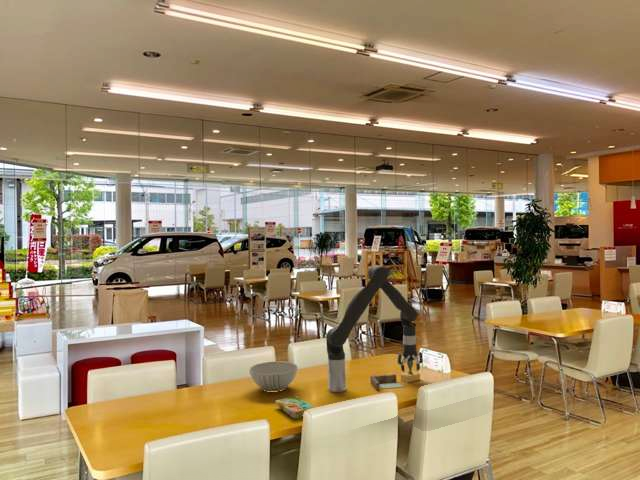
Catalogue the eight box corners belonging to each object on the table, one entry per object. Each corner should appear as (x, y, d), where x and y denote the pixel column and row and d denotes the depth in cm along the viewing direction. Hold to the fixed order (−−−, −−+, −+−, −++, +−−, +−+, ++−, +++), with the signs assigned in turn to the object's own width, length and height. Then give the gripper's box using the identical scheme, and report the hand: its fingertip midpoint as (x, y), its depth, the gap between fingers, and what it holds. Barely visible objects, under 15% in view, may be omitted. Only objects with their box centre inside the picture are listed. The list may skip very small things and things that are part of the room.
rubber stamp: (413, 377, 294) (413, 357, 294) (420, 379, 289) (420, 359, 289) (400, 380, 290) (399, 359, 289) (406, 382, 285) (406, 361, 284)
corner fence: (376, 390, 272) (376, 383, 272) (370, 383, 286) (370, 375, 286) (402, 388, 274) (402, 381, 274) (395, 381, 288) (395, 374, 288)
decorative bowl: (267, 400, 261) (266, 377, 260) (240, 389, 281) (240, 367, 281) (308, 389, 278) (307, 367, 277) (280, 379, 298) (279, 358, 298)
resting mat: (382, 388, 275) (382, 388, 275) (378, 384, 283) (378, 383, 283) (403, 387, 277) (403, 386, 277) (399, 382, 284) (399, 382, 284)
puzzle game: (292, 410, 232) (275, 398, 250) (292, 420, 233) (275, 408, 250) (314, 406, 238) (296, 394, 256) (315, 416, 238) (296, 403, 256)
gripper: (399, 345, 284) (400, 373, 285) (423, 343, 286) (424, 371, 287) (395, 342, 292) (396, 370, 292) (419, 340, 294) (420, 368, 294)
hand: (410, 370), depth 289 cm, fingers open, 8 cm apart
